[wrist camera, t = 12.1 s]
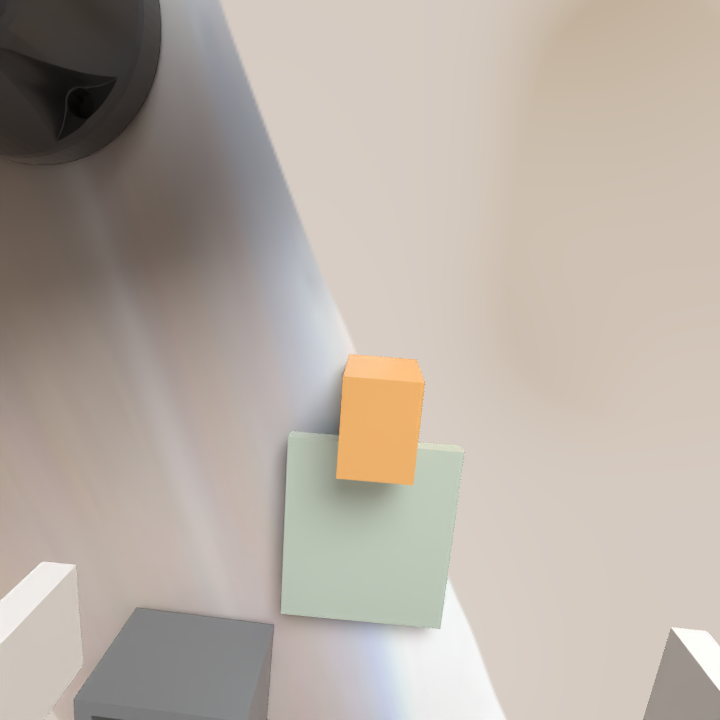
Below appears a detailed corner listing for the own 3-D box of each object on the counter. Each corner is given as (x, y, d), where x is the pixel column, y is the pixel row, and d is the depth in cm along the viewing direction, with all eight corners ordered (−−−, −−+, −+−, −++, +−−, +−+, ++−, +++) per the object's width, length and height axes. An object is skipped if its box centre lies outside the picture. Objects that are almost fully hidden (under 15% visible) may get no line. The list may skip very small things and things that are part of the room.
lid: (297, 346, 28) (276, 370, 23) (469, 360, 28) (492, 388, 22) (286, 592, 33) (266, 666, 27) (436, 606, 32) (449, 684, 26)
